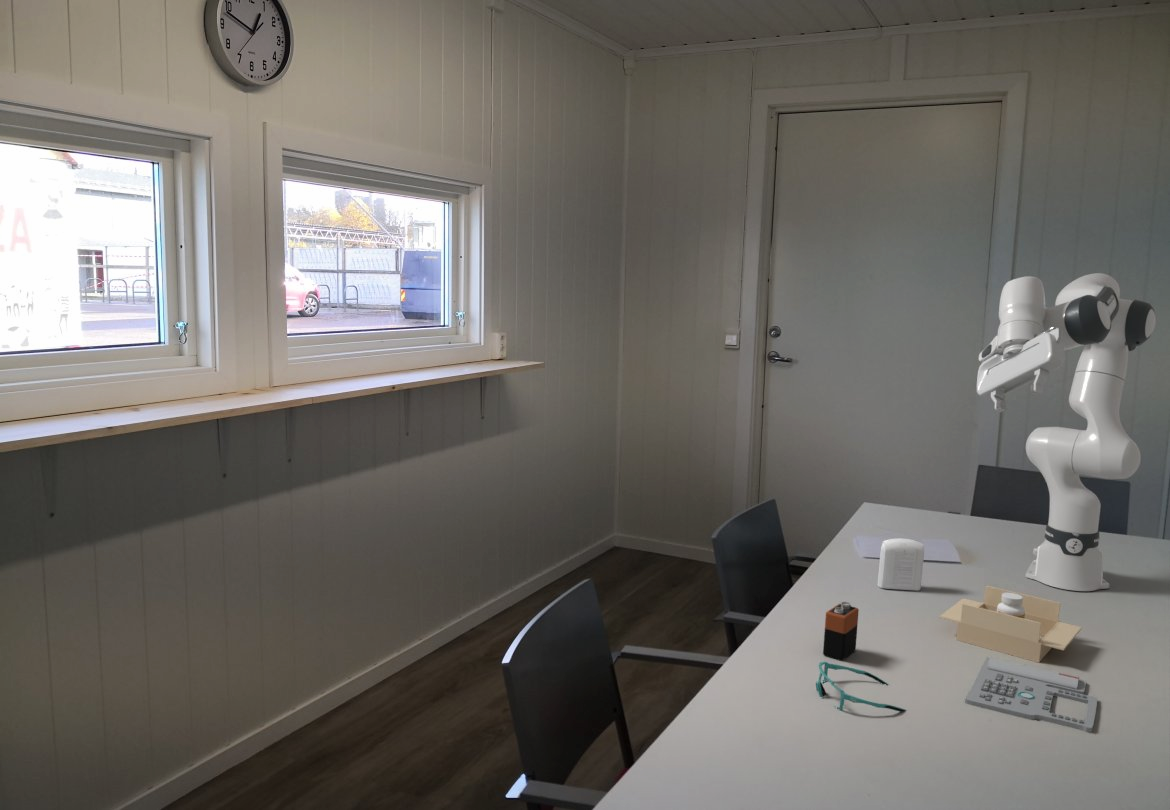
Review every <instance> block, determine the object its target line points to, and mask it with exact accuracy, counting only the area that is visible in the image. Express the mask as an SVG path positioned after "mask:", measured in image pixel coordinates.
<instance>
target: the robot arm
mask: <svg viewBox="0 0 1170 810" xmlns="http://www.w3.org/2000/svg"><path fill="white" fill-rule="evenodd" d="M1045 295H1046V294H1045V288H1044V283H1043V281H1042V280H1041V279H1040V277H1039V278H1038V277H1036V276H1031V275H1029V276H1023V275H1022V276H1018V277H1016V278H1013V279H1010V280H1009V281H1007V282H1006V283H1005V284H1004V285H1003V288H1002V289H1001V294H1000V299H999V305H998V306H999V307H998V308H999V309H998V319H999V321H1000V322H999V326H998V328H997V335H995V336H994V337H993V339H992V341H991V342H990V343H989V344H988V345H987V346H986V347H985V348H984V349H983V350H982V351H980V352H979V354H978V361H979V362H980V363H981V364H980V365H979V367H978V370H977V376H976V377H977V378H976V379H977V380H976V393H977V395H978V396H979V397H981V398H983V399H985V400H987V401H990V402H991V401H993V403H994V410H995V412H998V413H1002V412H1004V411H1006V410H1007V409H1008V408H1007V407H1008V404H1007V402H1005V401H1003V399H1005V395H1007V394H1010V393H1011V392H1013V391H1015V390H1018V389H1020V388H1021V387H1024V386H1025V385H1029V384H1030V383H1032V382H1033V383H1032V384H1030V385H1029V389H1030V390H1029V393H1030V394H1032V395H1034V396H1035V397H1037V396H1040V395H1041V394H1043V393H1044V386H1045V384H1046V382H1047V380H1048V378H1049V374H1050V373H1053V372H1055V371H1057V370H1059V369H1062V367H1063V365H1064V364H1065V362H1066V355H1065V353H1066V352H1065V351H1067V350H1072V349H1074V348H1079V347H1081V346H1084V347H1083V350H1082V352H1081V353H1080V357H1079V359H1078V361H1077V365H1076V368H1075V371H1074V374H1073V375H1074V376H1073V380H1072V383H1071V387H1070V391H1069V397H1068V403H1069V407H1070V408H1071V409H1072V410H1073V411H1074V412H1075V413H1076V414H1078V415H1079V416H1080V417H1082V418H1083V419H1086V421H1087V427H1086V429H1084V430H1083V429H1077V428H1070V427H1069V428H1068V427H1062V426H1044V427H1043V426H1039V427H1037V428H1035V429H1033V431H1032V432H1031V433H1030V434H1029V435H1028V437H1027V439H1026V443H1025V452H1026V453H1025V454H1026V456H1027V458H1028V460H1029V461H1030V462H1031V463H1032V464H1033V465H1034V466H1035V467H1036V468H1037V470H1039V472H1040V473H1041V475H1042V476H1043V479H1044V481H1045V483H1046V484H1047V489H1048V493H1049V510H1048V512H1049V514H1048V523H1047V524H1046V526H1045V528H1044V540H1043V541H1042V543H1041V544H1040V545H1039V546H1037V547H1033V550H1032V557H1034V558H1036V559H1034V560H1032V562H1031V563H1030V565H1029V567H1028V568H1027V570H1026V572H1025V577H1026V578H1027V579H1031V580H1035V581H1037V582H1039V583H1042V584H1044V585H1047V586H1050V587H1054V588H1057V589H1061V590H1067V591H1074V592H1075V591H1076V592H1093V591H1097V590H1102V589H1103V590H1105V589H1110V583H1109V582H1107V581H1106V580H1105V579H1104V577H1103V576H1104V575H1103V573H1104V564H1105V563H1104V561H1105V560H1104V559H1105V555H1104V553H1102V552H1101V551H1100V550H1099V548H1098V546H1099V544H1100V531H1099V523H1100V515H1101V508H1102V507H1101V505H1102V504H1101V501H1100V499H1099V498H1098V496H1097V495H1096V494H1095V493H1094V492H1093V491H1091V490H1090V489H1089V488H1087V487H1085V485H1084V484H1083V482H1082V481H1081V478H1080V475H1081V476H1087V477H1093V478H1099V479H1104V480H1123V479H1125V480H1126V479H1128V478H1130V477H1132V476H1133V475H1134V474H1135V473H1136V472H1137V471H1138V470H1139V467H1140V464H1141V461H1142V460H1141V457H1142V456H1141V455H1142V454H1141V451H1140V448H1139V446H1138V445H1137V443H1136V442H1135V441H1134V440H1133V439H1132V437H1130V436H1129V435H1128V434H1127V432H1126V431H1125V428H1124V427H1123V425H1122V424H1123V423H1122V422H1121V417H1120V406H1121V401H1122V394H1123V388H1124V386H1125V381H1126V377H1127V371H1128V363H1129V361H1128V360H1129V352H1132V351H1134V350H1135V349H1136V347H1138V346H1141V345H1143V344H1144V343H1146V341H1148V340H1149V339H1150V338H1151V336H1152V333H1153V332H1154V329H1155V327H1156V324H1157V323H1156V322H1157V321H1156V320H1157V319H1156V314H1155V309H1154V306H1152V304H1151V303H1149V302H1146V301H1142V300H1139V299H1134V300H1130V299H1125V298H1120V297H1121V296H1120V295H1121V288H1120V286H1119V283H1118V282H1117V280H1116V279H1115V278H1114V277H1113V276H1112V275H1109V274H1106V273H1101V272H1097V273H1090V274H1084V275H1083V276H1080V277H1077V278H1076V279H1074V280H1073V281H1071V282H1070V283H1068V284H1067V285H1065V286H1064V287H1063V288H1062V289H1061V290H1060V292H1059V293H1058V294H1057V296H1056V298H1055V304H1054V306H1050V307H1046V296H1045Z"/></svg>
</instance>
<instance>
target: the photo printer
mask: <svg viewBox="0 0 1170 810" xmlns="http://www.w3.org/2000/svg"><path fill="white" fill-rule="evenodd" d="M880 547H881V548H880V553H879V555H880V556H879V565H878V576H877V587H879V589H888V590H901V591H905V590H906V591H917V592H918V591H921V586H922V578H923V577H922V576H923V569H924V568H923V567H924V556H925V546H924V544H923V543H921V542H919V541H918V540H913V539H911V538H910V539H909V538H900V537H899V538H890V539H885V540H883V541H882V542H881V546H880Z"/></svg>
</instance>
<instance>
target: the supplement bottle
mask: <svg viewBox="0 0 1170 810" xmlns="http://www.w3.org/2000/svg"><path fill="white" fill-rule="evenodd" d="M1001 599H1002V603H999V604H998V606H997V612H999V613H1003V614H1007V615H1011V616H1015V617H1019V618H1023V619H1025V609H1024V607H1022V606H1021V605H1022V602H1023V597H1022V596H1021V595H1018V594H1015V593H1003V594H1002V598H1001Z"/></svg>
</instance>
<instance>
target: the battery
mask: <svg viewBox="0 0 1170 810" xmlns="http://www.w3.org/2000/svg"><path fill="white" fill-rule="evenodd" d="M859 611H860V610H859V608H858V607H855V606H852V604H851V602H849V601H841V602H840V603H838V604H836V605H835V606H833V607H831V609H829V610H827V611H826V613H825V620H824V634H823V635H824V636H823V650H822V654H823V655H824V656H825V655H826V656H825V657H828V656H829V657H828V658H831V659H835V660H838V659H839V661H844V660H845V659H847V657H849V656H850V655H852V653H854V652H855V651H856V648H857V638H858V637H857V636H858V623H859Z"/></svg>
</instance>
